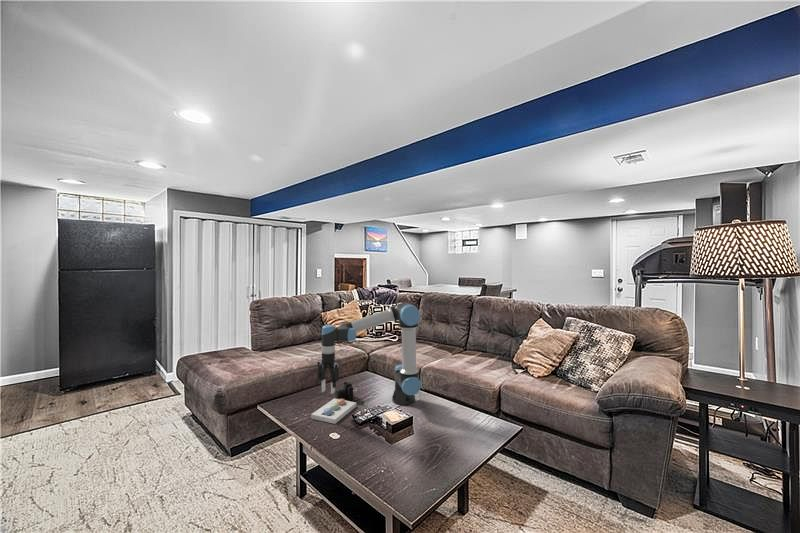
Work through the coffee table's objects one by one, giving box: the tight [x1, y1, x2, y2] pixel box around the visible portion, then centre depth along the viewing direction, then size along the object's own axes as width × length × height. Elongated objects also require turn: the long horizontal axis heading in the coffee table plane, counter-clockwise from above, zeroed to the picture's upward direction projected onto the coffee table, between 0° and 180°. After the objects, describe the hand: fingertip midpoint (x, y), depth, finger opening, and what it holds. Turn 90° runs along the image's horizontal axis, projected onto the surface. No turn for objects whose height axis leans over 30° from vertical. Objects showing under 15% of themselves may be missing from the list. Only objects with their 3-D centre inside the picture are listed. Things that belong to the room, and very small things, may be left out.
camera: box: [334, 381, 354, 402], centre depth 220 cm, size 14×11×10 cm
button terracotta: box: [337, 399, 345, 406], centre depth 207 cm, size 5×5×3 cm
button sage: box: [331, 403, 339, 411], centre depth 200 cm, size 5×5×3 cm
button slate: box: [324, 408, 332, 416], centre depth 194 cm, size 5×5×3 cm
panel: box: [310, 397, 357, 424], centre depth 200 cm, size 16×24×2 cm, turn 158°
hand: (328, 392), depth 194 cm, fingers open, 6 cm apart
